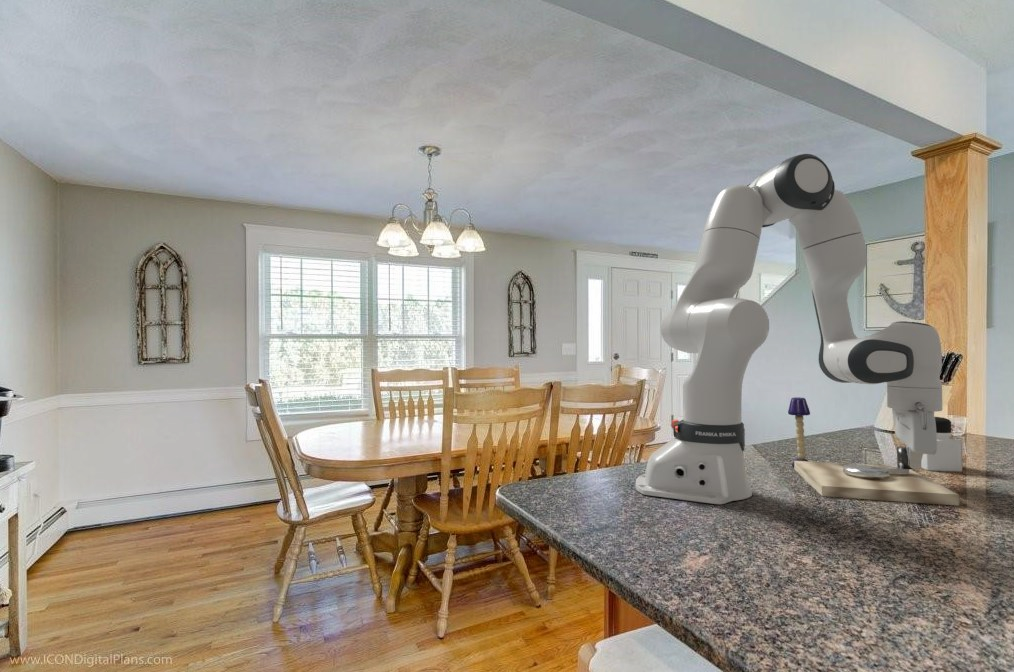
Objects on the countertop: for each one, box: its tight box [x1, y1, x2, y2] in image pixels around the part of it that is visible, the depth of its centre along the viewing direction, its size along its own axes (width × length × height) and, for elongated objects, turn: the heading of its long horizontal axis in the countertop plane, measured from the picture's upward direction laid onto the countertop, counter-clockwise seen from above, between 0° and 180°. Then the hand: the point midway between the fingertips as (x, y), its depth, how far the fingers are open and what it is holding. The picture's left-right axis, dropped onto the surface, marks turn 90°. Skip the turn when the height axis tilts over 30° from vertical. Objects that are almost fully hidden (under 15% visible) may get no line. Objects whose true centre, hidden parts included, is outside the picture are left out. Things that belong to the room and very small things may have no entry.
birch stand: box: [793, 460, 960, 507], centre depth 106 cm, size 22×22×2 cm
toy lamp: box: [787, 397, 811, 468], centre depth 122 cm, size 5×5×17 cm
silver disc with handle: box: [843, 446, 913, 479], centre depth 106 cm, size 14×8×5 cm, turn 94°
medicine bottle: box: [921, 416, 963, 473], centre depth 120 cm, size 7×7×12 cm
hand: (914, 468), depth 103 cm, fingers closed
